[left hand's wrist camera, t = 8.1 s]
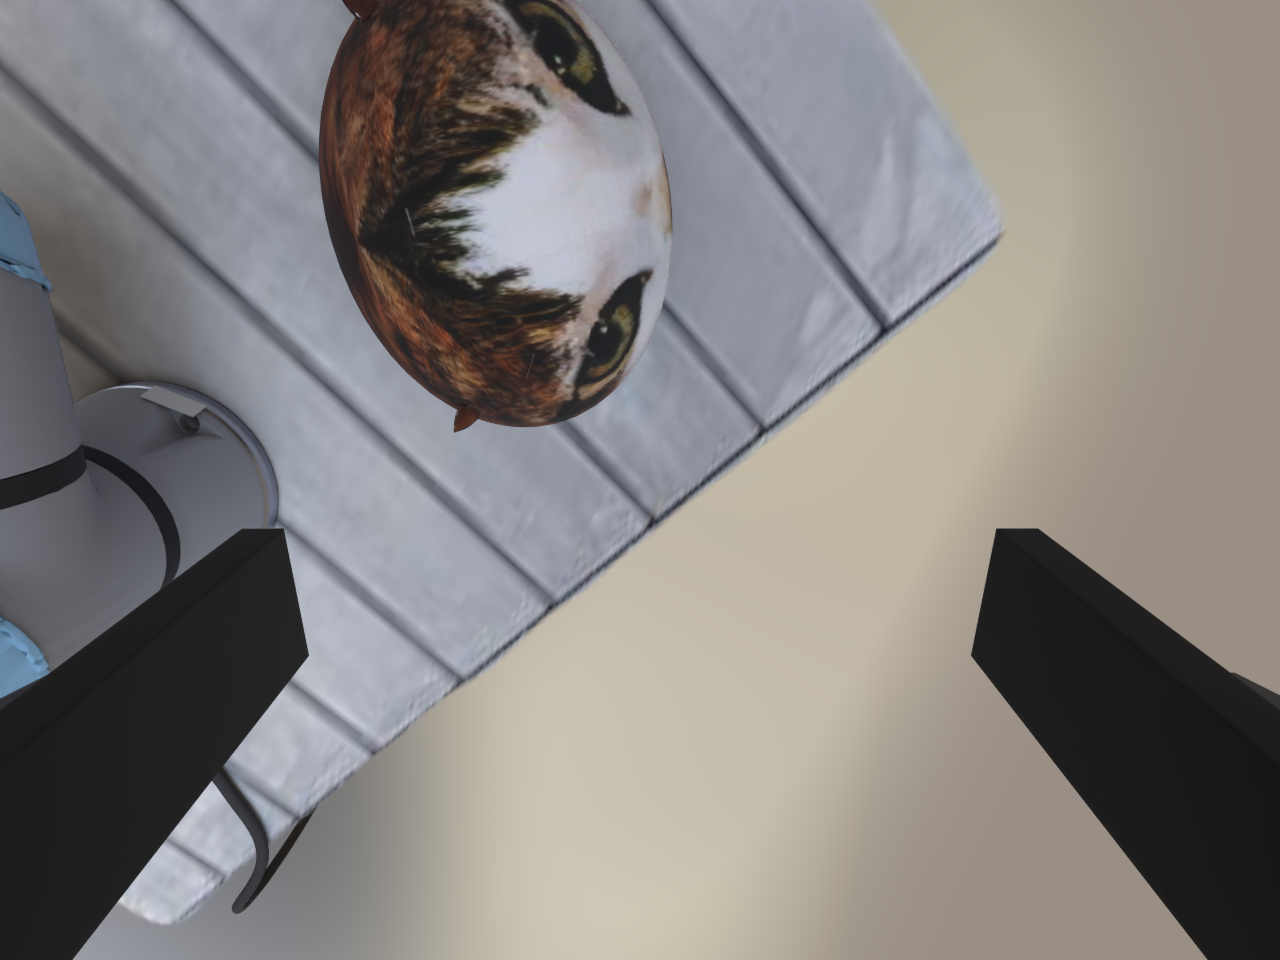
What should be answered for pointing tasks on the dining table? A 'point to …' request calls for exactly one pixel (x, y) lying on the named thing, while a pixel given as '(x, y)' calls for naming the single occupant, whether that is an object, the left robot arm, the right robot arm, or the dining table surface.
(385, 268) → the cat face balloon
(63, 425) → the left robot arm
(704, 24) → the dining table surface
